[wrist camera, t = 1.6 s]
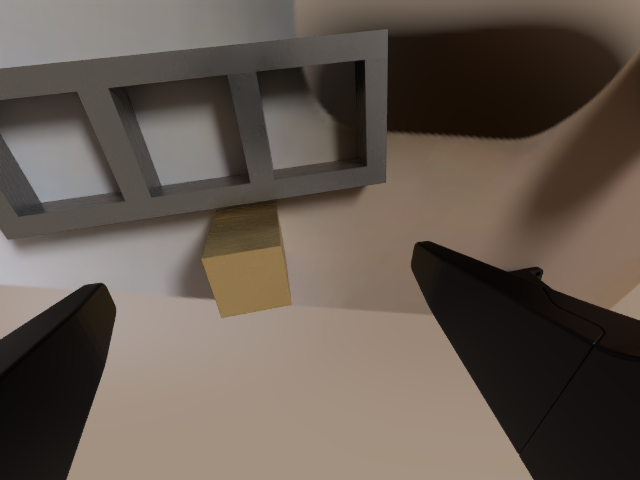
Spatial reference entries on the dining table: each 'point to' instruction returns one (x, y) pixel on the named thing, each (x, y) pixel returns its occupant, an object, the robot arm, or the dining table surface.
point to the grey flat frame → (241, 68)
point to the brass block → (247, 260)
